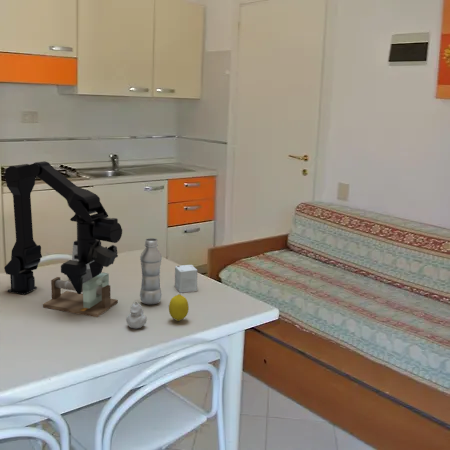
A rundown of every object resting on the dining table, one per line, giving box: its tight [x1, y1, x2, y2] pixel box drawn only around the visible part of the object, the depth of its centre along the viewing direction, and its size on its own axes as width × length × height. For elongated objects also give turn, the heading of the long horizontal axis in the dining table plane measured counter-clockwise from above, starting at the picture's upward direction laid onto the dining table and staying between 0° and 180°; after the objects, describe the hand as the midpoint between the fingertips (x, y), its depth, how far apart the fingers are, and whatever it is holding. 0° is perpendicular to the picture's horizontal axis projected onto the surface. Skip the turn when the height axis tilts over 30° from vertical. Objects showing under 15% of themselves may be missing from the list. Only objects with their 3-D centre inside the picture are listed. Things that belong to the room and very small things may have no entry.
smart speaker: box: [71, 240, 92, 284], centre depth 187 cm, size 10×9×14 cm
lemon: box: [168, 293, 190, 322], centre depth 159 cm, size 6×6×8 cm
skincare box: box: [174, 264, 198, 294], centre depth 184 cm, size 6×6×7 cm
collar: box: [82, 271, 110, 308], centre depth 165 cm, size 2×11×7 cm, turn 162°
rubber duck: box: [126, 300, 148, 329], centre depth 154 cm, size 5×7×8 cm
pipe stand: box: [42, 276, 119, 318], centre depth 167 cm, size 18×12×7 cm, turn 72°
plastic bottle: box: [139, 237, 163, 305], centre depth 169 cm, size 6×7×20 cm
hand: (87, 288), depth 166 cm, fingers open, 9 cm apart
